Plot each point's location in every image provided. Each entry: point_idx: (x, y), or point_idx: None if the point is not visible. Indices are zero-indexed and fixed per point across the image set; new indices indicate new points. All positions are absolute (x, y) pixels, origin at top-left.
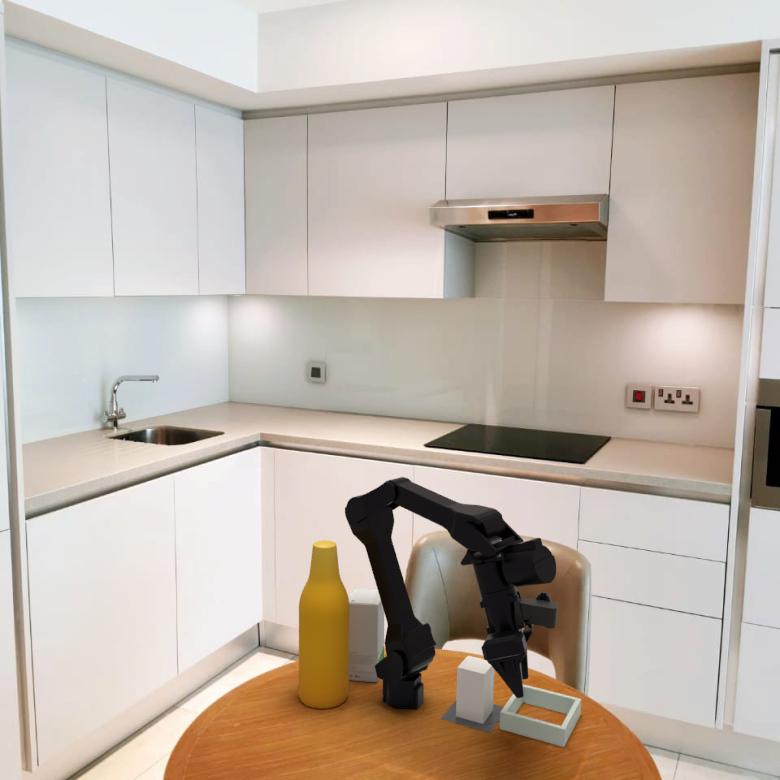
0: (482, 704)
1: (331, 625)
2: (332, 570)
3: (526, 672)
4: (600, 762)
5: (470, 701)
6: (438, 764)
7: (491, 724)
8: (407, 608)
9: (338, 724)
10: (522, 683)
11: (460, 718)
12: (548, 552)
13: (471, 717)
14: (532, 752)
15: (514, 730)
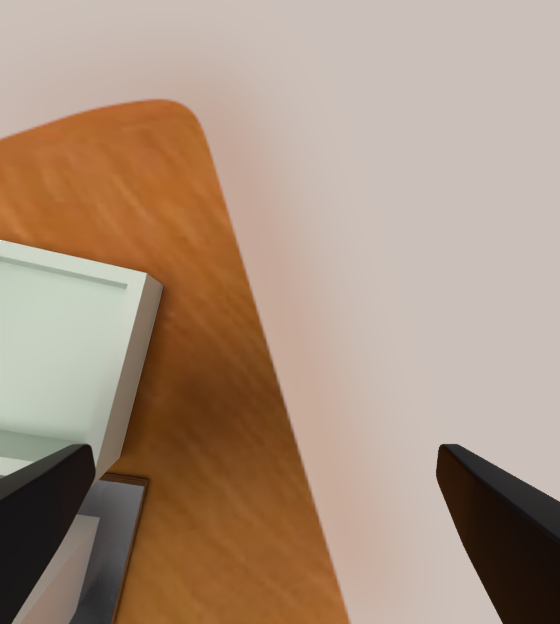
0: (66, 564)
1: None
2: None
3: (64, 470)
4: (181, 201)
5: (53, 614)
6: (299, 578)
7: (96, 491)
8: None
9: None
10: (525, 492)
11: (85, 593)
12: None
13: (85, 563)
14: (183, 361)
15: (122, 420)
